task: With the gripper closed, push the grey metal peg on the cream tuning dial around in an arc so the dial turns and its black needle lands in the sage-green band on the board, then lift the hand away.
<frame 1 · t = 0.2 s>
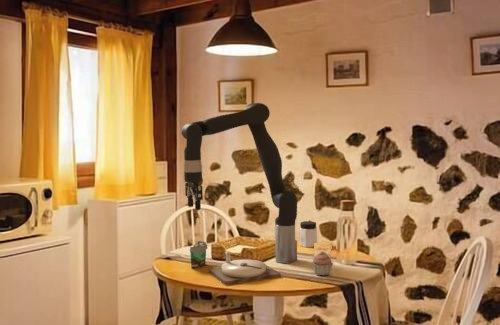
hand: (194, 208, 234), 28 cm above the table, tool pointing down, fingers open, 8 cm apart
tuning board: (243, 274, 233), on the table
cupcake: (322, 274, 232), on the table
food container: (201, 266, 248), on the table
jar: (308, 245, 283), on the table
dial: (243, 270, 233), point 2 cm above the table, hinge at 0.0°
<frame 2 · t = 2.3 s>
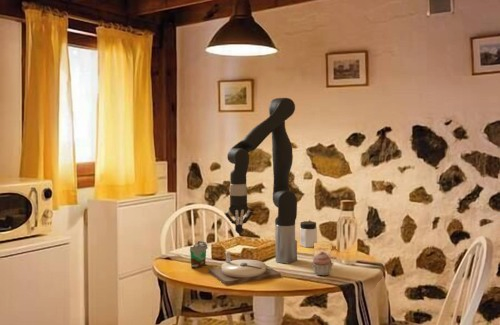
hand: (238, 232, 240), 16 cm above the table, tool pointing down, fingers closed
nothing on the table moved.
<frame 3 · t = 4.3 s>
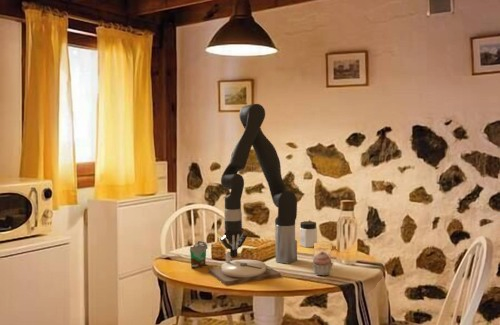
hand: (233, 257, 240), 6 cm above the table, tool pointing down, fingers closed
dial: (243, 270, 233), point 2 cm above the table, hinge at 0.2°, touching gripper
everything else where it was.
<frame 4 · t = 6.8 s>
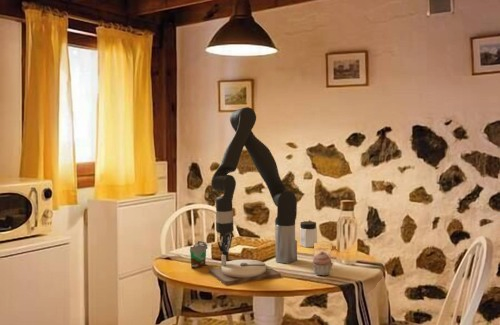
hand: (225, 259, 236), 6 cm above the table, tool pointing down, fingers closed
dial: (243, 270, 233), point 2 cm above the table, hinge at 34.1°, touching gripper
everything else where it was.
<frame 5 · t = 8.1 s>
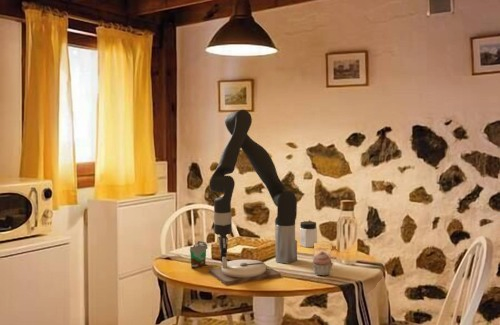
hand: (223, 261, 233), 6 cm above the table, tool pointing down, fingers closed
dial: (243, 270, 233), point 2 cm above the table, hinge at 57.0°, touching gripper
everything else where it was.
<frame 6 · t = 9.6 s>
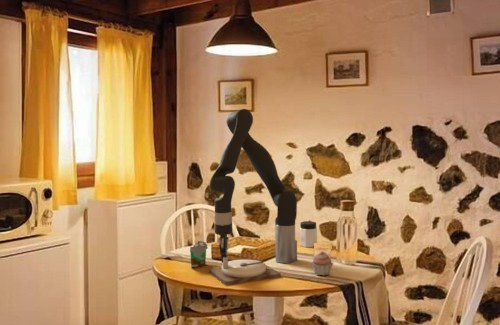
hand: (224, 262, 234), 5 cm above the table, tool pointing down, fingers closed
dial: (243, 270, 233), point 2 cm above the table, hinge at 63.2°
everything else where it was.
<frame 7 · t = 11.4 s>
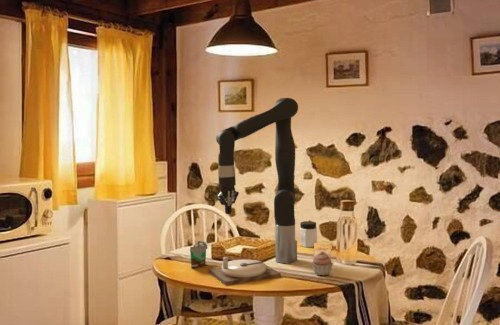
hand: (228, 213, 244), 24 cm above the table, tool pointing down, fingers closed
nothing on the table moved.
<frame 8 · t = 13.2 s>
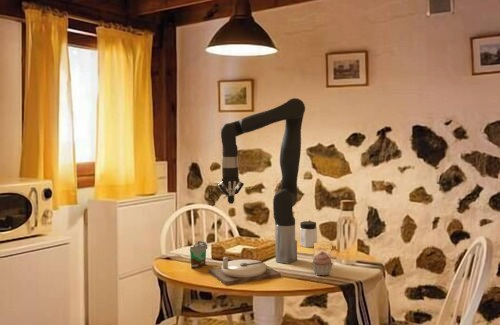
hand: (230, 203, 254), 27 cm above the table, tool pointing down, fingers closed
nothing on the table moved.
at the end: dial at +63° (first picture: +0°) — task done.
